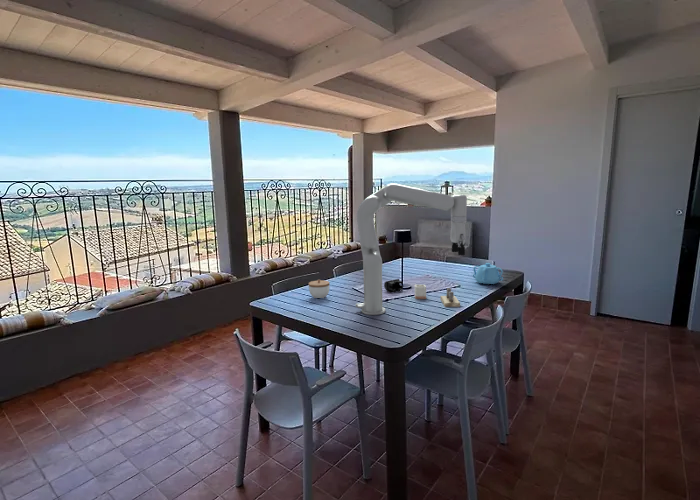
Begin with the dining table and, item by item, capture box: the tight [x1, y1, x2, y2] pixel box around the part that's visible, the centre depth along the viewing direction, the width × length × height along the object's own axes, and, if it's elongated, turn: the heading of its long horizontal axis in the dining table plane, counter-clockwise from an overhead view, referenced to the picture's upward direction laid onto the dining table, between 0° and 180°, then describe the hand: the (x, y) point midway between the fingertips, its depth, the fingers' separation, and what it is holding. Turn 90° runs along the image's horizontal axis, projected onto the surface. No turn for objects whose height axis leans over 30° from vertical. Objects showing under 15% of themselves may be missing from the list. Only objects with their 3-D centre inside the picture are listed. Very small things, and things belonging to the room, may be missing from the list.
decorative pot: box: [472, 262, 504, 285], centre depth 242 cm, size 16×16×14 cm
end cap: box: [383, 278, 404, 293], centre depth 231 cm, size 10×7×7 cm
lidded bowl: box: [308, 279, 331, 299], centre depth 219 cm, size 13×13×11 cm
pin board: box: [440, 287, 461, 308], centre depth 201 cm, size 8×14×7 cm, turn 175°
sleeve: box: [414, 284, 427, 300], centre depth 214 cm, size 6×6×7 cm
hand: (458, 253), depth 185 cm, fingers open, 9 cm apart
